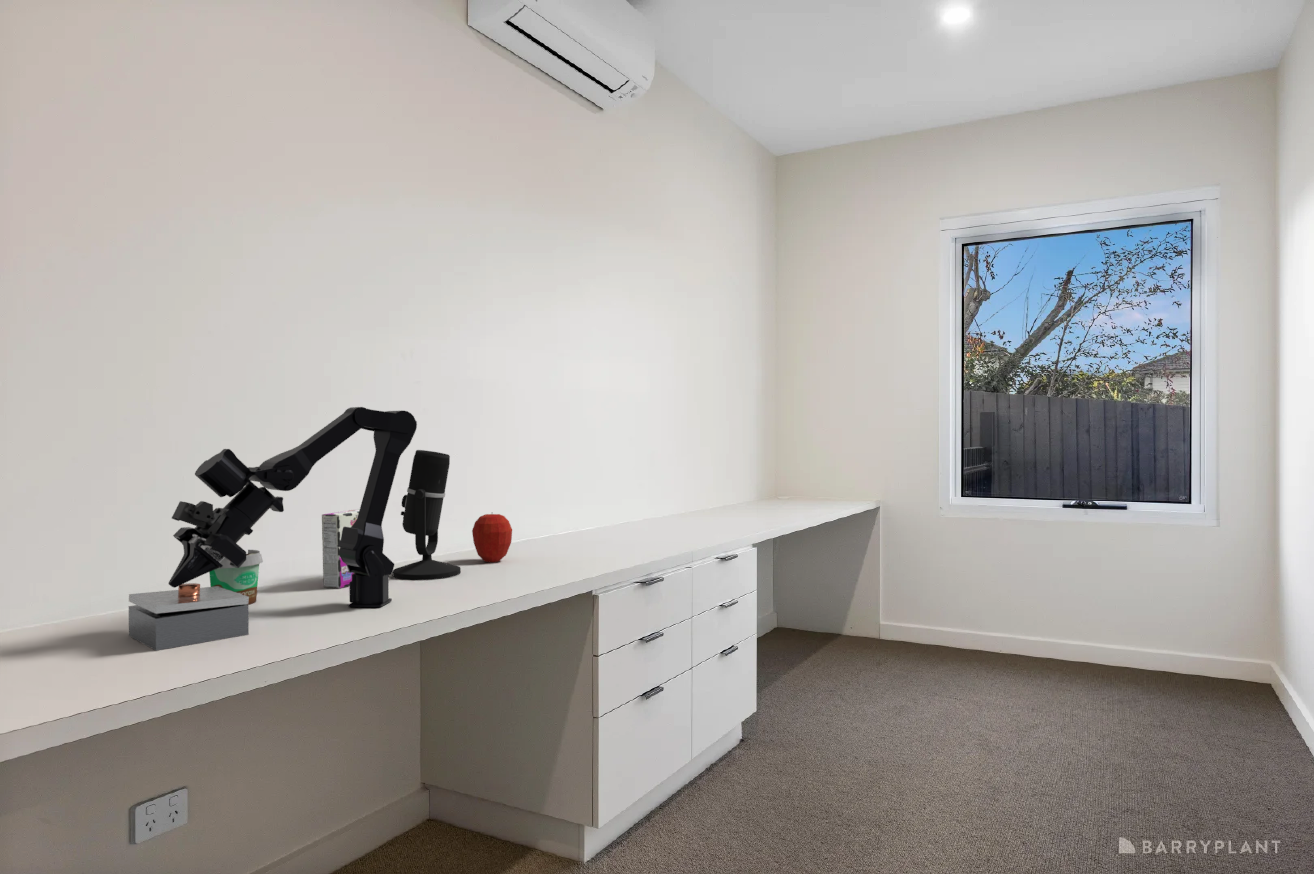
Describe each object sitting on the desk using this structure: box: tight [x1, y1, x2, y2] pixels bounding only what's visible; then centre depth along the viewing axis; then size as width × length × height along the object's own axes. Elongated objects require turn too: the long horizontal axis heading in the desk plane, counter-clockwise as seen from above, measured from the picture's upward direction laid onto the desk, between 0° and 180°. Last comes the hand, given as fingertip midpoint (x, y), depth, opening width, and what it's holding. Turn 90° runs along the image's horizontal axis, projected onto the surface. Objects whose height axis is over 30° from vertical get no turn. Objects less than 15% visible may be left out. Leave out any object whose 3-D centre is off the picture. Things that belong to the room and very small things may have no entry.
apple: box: [471, 513, 513, 564], centre depth 218 cm, size 10×10×14 cm
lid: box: [128, 582, 249, 614], centre depth 139 cm, size 14×14×3 cm
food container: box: [208, 549, 264, 606], centre depth 165 cm, size 12×6×10 cm, turn 168°
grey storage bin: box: [128, 604, 250, 652], centre depth 139 cm, size 14×14×5 cm
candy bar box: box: [321, 508, 360, 589], centre depth 186 cm, size 11×5×16 cm, turn 161°
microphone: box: [392, 449, 462, 581], centre depth 199 cm, size 16×16×30 cm
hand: (171, 585), depth 137 cm, fingers closed
